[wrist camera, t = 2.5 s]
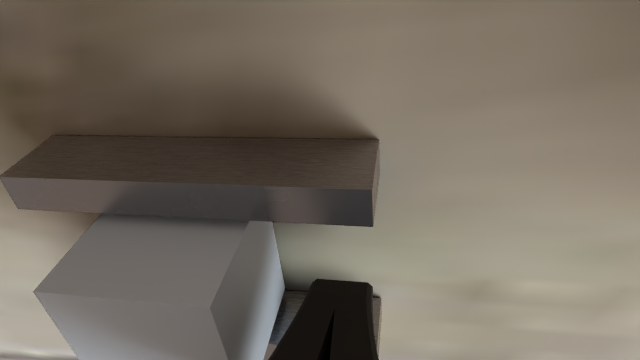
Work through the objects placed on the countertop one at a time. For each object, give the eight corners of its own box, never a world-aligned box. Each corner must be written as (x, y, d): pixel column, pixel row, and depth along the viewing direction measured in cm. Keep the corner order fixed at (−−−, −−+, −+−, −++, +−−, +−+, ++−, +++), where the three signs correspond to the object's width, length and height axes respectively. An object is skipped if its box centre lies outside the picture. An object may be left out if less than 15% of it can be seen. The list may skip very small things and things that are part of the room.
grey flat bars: (379, 139, 11) (372, 189, 9) (381, 318, 15) (377, 375, 13) (52, 135, 12) (-2, 177, 11) (131, 296, 16) (100, 344, 15)
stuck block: (265, 186, 12) (209, 307, 9) (285, 288, 14) (246, 413, 11) (129, 181, 13) (33, 292, 10) (169, 278, 15) (102, 393, 12)
